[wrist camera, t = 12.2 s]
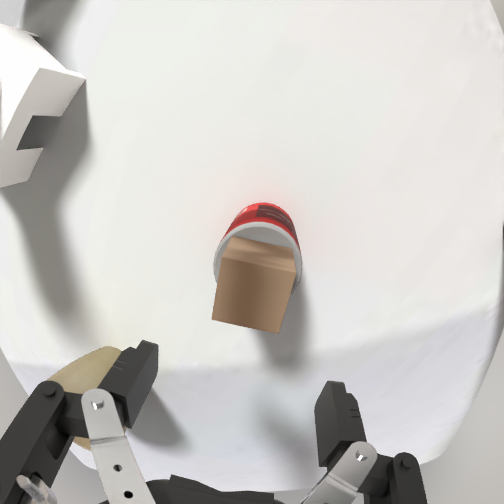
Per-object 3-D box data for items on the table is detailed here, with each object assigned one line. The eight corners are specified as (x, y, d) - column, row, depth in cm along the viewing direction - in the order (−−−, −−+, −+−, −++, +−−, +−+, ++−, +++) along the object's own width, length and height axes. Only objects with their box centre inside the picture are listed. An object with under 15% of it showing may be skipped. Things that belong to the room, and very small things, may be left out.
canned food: (231, 263, 37) (213, 307, 26) (231, 200, 34) (211, 221, 24) (292, 266, 36) (298, 312, 26) (296, 202, 33) (306, 225, 23)
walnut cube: (292, 248, 24) (296, 272, 19) (278, 301, 26) (278, 333, 21) (232, 235, 24) (221, 256, 19) (222, 289, 26) (211, 319, 21)
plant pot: (156, 345, 42) (115, 419, 27) (152, 401, 47) (124, 466, 32) (78, 314, 42) (23, 370, 27) (85, 373, 47) (47, 427, 32)
